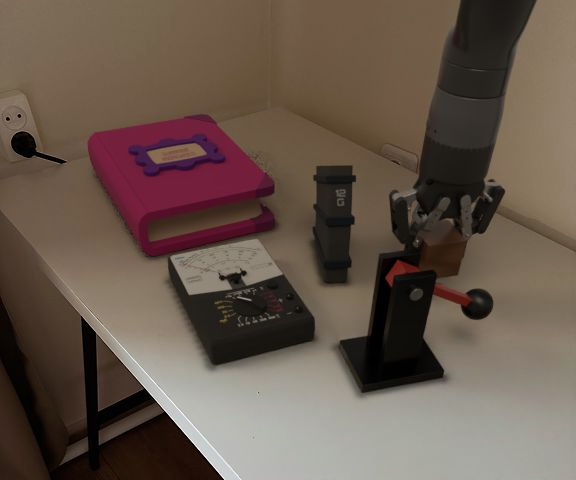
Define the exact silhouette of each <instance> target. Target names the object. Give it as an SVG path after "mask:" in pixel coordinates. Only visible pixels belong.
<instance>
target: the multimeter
mask: <svg viewBox="0 0 576 480" xmlns="http://www.w3.org/2000/svg"><path fill="white" fill-rule="evenodd" d="M167 269H168V274H169V279H170V281H171V283H172V285H173V287H174V288H175V291H176V293H177V295H178V297H179V299H180V301H181V303H182V305H183V307H184V309H185V312H186V314H187V315H188V317H189V319H190V321H191V323H192V326H193V328H194V329H195V332H196V334H197V335H198V338H199V340H200V342H201V344H202V346H203V348H204V350H205V352H206V354H207V356H208V358H209V360H210V362H211V363H212V364H213V365H218V364H222V363H226V362H230V361H234V360H238V359H241V358H246V357H249V356H254V355H257V354H261V353H266V352H269V351H272V350H276V349H280V348H285V347H289V346H293V345H297V344H301V343H304V342H307V341H308V342H309V341H311V340H313V339H314V337H315V332H316V319H315V316H314V315H313V314H312V312H311V311H310V309H309V307H308V306H307V305H306V303H305V302H304V301H303V300H302V298H301V296H300V295H299V294H298V292H297V291H296V290H295V288H294V287H293V285H292V284H291V283H290V280H289V279H288V278H287V277H286V276H285V274H284V272H283V271H282V270H281V268H280V267H279V265H278V264H277V263H276V261H275V260H274V259H273V257H272V256H271V254H270V253H269V251H268V250H267V248H266V247H265V246H264V244H263V243H262V242H261V240H260V239H258V238H253V239H248V240H243V241H238V242H232V243H227V244H223V245H219V246H218V245H217V246H213V247H208V248H204V249H198V250H194V251H189V252H183V253H179V254H174V255H171V256H169V257H167Z"/></svg>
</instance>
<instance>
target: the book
mask: <svg viewBox="0 0 576 480" xmlns="http://www.w3.org/2000/svg"><path fill="white" fill-rule="evenodd" d="M87 153H88V157H89V160H90V163H91V167H92V170H94V172H95V174H96V176H97V177H98V179H99V180H100V182H101V183H102V185H103V188H104V189H105V190H106V192H107V194H108V195H109V198H110V199H111V200H112V202H113V204H114V206H115V207H116V209H117V211H118V213H119V214H120V215H121V217H122V219H123V221H124V222H125V224H126V225H127V227H128V229H129V230H130V232H131V234H132V235H133V237H134V239H135V241H136V242H137V244H138V245H139V247H140V249H141V251H142V252H143V253H145V254H146V255H148V256H151V257H157V256H161V255H165V254H169V253H174V252H178V251H181V250H186V249H191V248H194V247H199V246H203V245H207V244H211V243H216V242H219V241H225V240H229V239H231V238H237V237H241V236H245V235H249V234H252V233H255V234H258V233H263V232H266V231H270V230H272V229H274V228H275V226H276V224H275V223H276V217H275V216H276V215H275V213H273V211H272V210H271V209H270V208H269V207H268V206H267V205H264V204H263V203H262V202H261V201H260V200H261V199H262V198H266V197H270V196H273V195H274V194H275V190H276V189H275V186H276V184H275V183H276V182H275V180H274V179H273V178H272V177H271V176H270V175H269V174H268V173H267V172H264V170H263V169H262V168H260V166H258V165H257V163H255V161H254V160H253V159H252V158H251V157H250V156H249V155H248V154H247V153H246V152H245V151H244V150H243V149H242V148H241V147H239V145H238V144H237V143H236V142H235V141H234V140H233V139H232V138H231V137H230V136H229V135H228V134H227V133H226V132H225V130H223V129H222V128H221V127H220V126H219V125H218V123H217V122H216V120H215V119H214V118H213V117H212V116H211V115H209V114H207V113H206V114H205V113H198V114H193V115H186V116H183V117H180V118H174V119H168V120H162V121H156V122H150V123H143V124H138V125H133V126H127V127H120V128H114V129H113V128H112V129H109V130H108V129H107V130H101V131H96V132H93V133H91V135H90V136H89V138H88V140H87Z"/></svg>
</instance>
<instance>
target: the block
mask: <svg viewBox="0 0 576 480" xmlns="http://www.w3.org/2000/svg"><path fill="white" fill-rule="evenodd" d="M466 242H467V240H466V239H465V238H464V237H463V236H462V235H461V233H460V232H459V231H458V230H457V229H456V228H455V227H454V224H453V222H451V221H450V219H443V220H441V221H438V222H437V223H436V225H435V227H434V229H433V230H432V231H431V232H428V234H427V236H426V237H425V239H424V241H423V243H422V244H421V246H422V250H421V257H420V262H419V267H418V269H419V270H420V271H426V270H434V271H435V272H436V273H437V279H436V280H438V279H443V278H444V279H445V278H451V277H457V276H459V273H460V269H461V266H462V261H463V259H464V257H463V254H464V250H465V246H466ZM467 243H468V242H467ZM466 247H467V246H466ZM465 251H466V250H465ZM464 255H465V254H464ZM462 258H463V259H462Z"/></svg>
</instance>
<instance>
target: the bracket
mask: <svg viewBox="0 0 576 480" xmlns="http://www.w3.org/2000/svg"><path fill="white" fill-rule="evenodd" d="M420 257H421V252H420V251H419V250H418V249H410V250H404V249H403V250H397V251H389V252H382V253H378V260H377V267H376V273H375V279H374V287H373V293H372V294H373V295H372V301H371V307H370V314H369V321H368V328H367V335H363V336H356V337H351V338H345V339H340V340H339V341H338V343H339V344H338V349H339V351H340V353H341V355H342V357H343V358H344V361H345V363H346V365H347V366H348V369H349V370H350V372H351V375H352V377H353V378H354V380H355V383H356V385H357V386H358V388H359V391H360V392H361V394H364V393H368V392H374V391H379V390H386V389H391V388H395V387H400V386H406V385H411V384H417V383H422V382H428V381H434V380H439V379H443V378H444V374H445V369H444V367H443V366H442V364H441V363H440V360H438V358H437V356H436V355H435V354H434V352H433V350H432V349H431V347H430V346H429V344H428V343H427V342H426V340H425V338H424V336H425V332H426V329H427V328H426V327H427V322H428V318H429V314H430V309H431V306H432V305H431V304H432V301H433V297H434V295H433V292H434V288H435V284H436V283H437V280H438V279H437V273H436V272H435V271H434V270H426V271H419V272H412V273H406V274H399V275H394V277H393V283H392V288H391V286H390V285H389V283H388V281H387V280H386V278H385V277H386V276H387V275H388V273H389V272H390V270H391V269H392V267H393V266H394V265H395V263H396V262H397V260H399V261H402V262H405V263H407V264H410V265H413V266H415V267H417V268H418V267H419V262H420Z"/></svg>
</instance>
